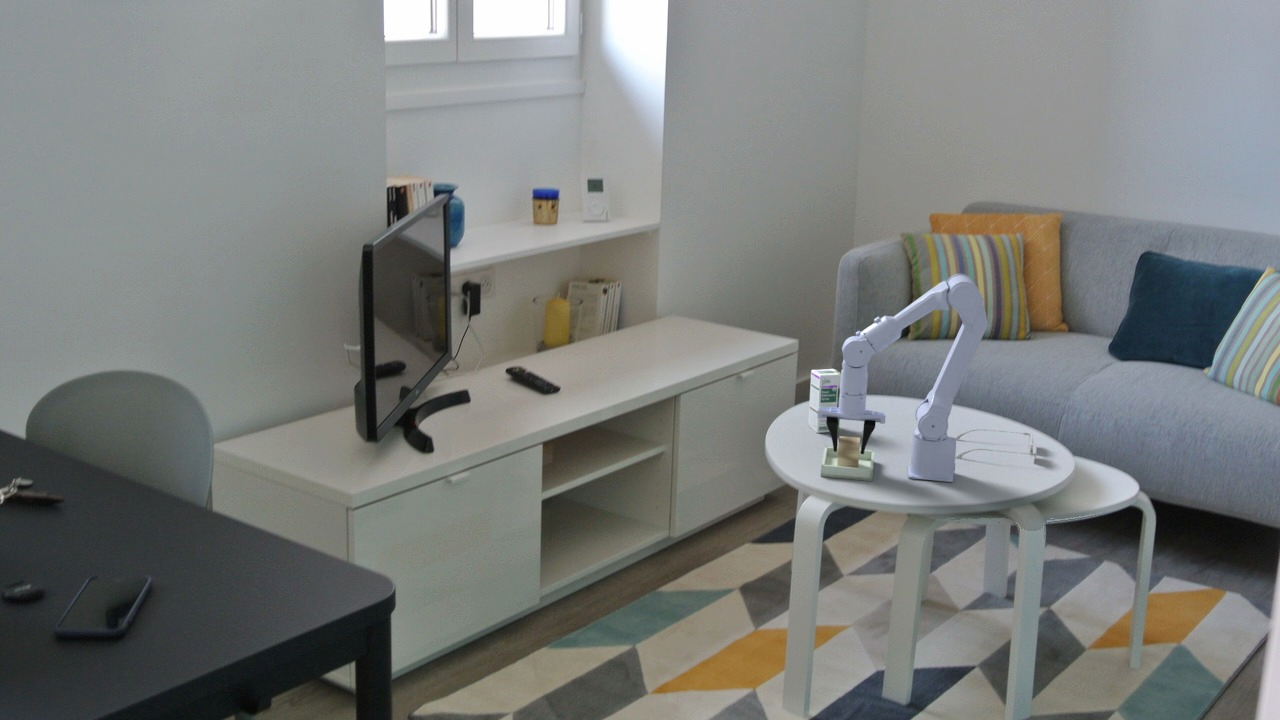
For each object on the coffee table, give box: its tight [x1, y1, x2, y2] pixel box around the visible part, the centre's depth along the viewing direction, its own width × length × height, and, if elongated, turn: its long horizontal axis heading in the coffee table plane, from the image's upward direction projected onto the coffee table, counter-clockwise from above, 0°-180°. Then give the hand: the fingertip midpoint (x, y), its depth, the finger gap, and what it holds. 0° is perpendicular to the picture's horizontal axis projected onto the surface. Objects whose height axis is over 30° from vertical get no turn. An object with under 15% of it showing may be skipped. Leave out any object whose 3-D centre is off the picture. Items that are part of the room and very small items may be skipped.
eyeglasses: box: [954, 428, 1038, 464], centre depth 291 cm, size 15×18×4 cm
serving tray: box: [820, 446, 875, 482], centre depth 277 cm, size 11×13×2 cm
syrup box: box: [807, 368, 841, 434], centre depth 303 cm, size 6×6×14 cm
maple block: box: [837, 435, 861, 468], centre depth 277 cm, size 4×4×6 cm
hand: (848, 451), depth 277 cm, fingers open, 5 cm apart
